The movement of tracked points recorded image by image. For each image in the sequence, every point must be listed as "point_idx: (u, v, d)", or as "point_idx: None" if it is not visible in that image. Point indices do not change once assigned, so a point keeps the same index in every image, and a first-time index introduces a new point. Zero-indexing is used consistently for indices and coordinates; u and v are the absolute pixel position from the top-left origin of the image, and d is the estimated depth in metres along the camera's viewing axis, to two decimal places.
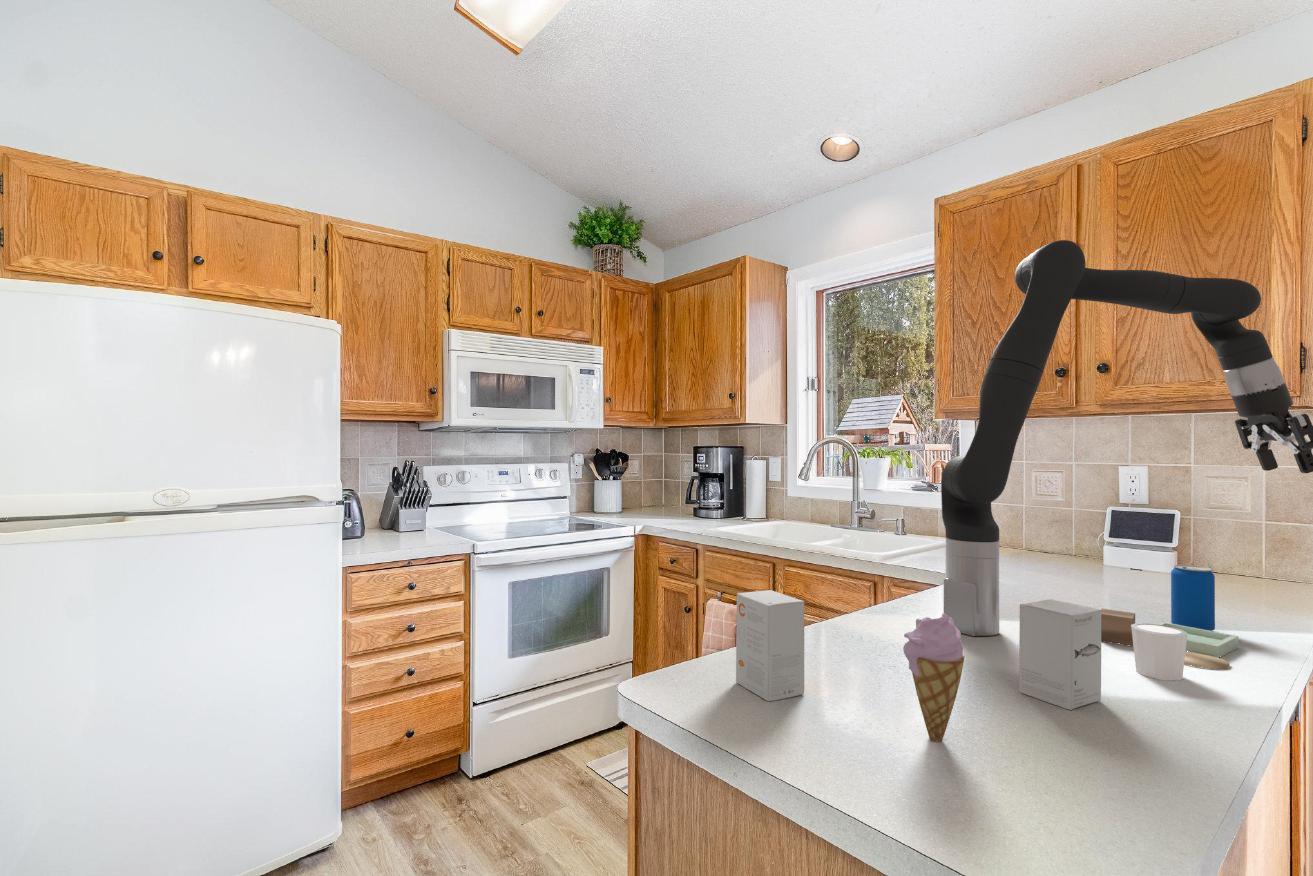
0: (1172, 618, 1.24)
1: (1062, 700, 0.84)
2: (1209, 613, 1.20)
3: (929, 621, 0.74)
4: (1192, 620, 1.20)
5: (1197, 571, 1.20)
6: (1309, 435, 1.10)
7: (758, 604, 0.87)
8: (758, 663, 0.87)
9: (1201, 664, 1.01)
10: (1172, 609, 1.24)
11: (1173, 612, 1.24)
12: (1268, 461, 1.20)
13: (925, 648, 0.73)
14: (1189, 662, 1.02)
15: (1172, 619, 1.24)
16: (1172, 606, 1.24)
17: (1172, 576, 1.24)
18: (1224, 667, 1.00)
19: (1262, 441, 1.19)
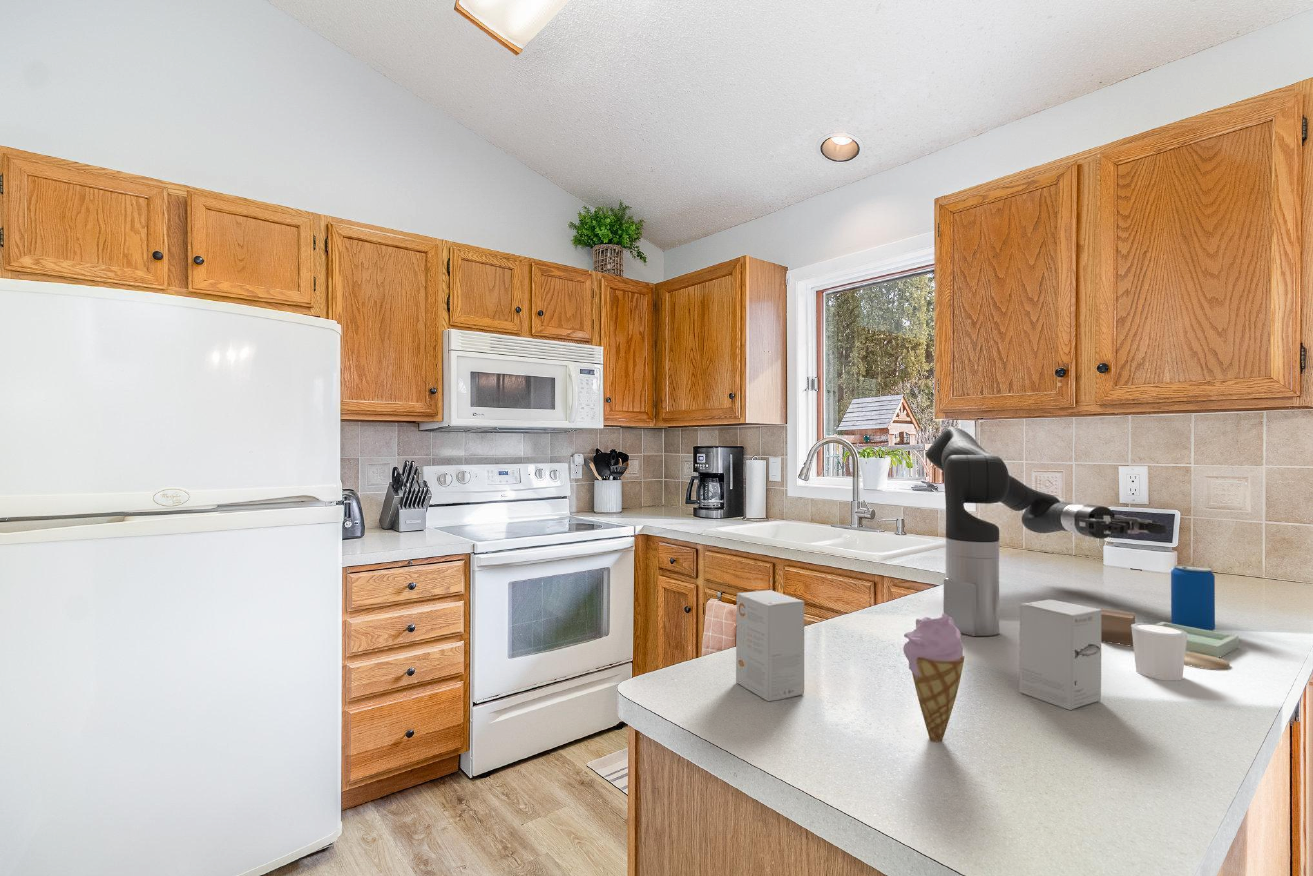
0: (1172, 618, 1.24)
1: (1062, 700, 0.84)
2: (1209, 613, 1.20)
3: (929, 621, 0.74)
4: (1192, 620, 1.20)
5: (1197, 571, 1.20)
6: None
7: (758, 604, 0.87)
8: (758, 663, 0.87)
9: (1201, 664, 1.01)
10: (1172, 609, 1.24)
11: (1173, 612, 1.24)
12: (1155, 529, 1.36)
13: (924, 648, 0.73)
14: (1189, 662, 1.02)
15: (1172, 619, 1.24)
16: (1172, 606, 1.24)
17: (1172, 576, 1.24)
18: (1224, 667, 1.00)
19: (1135, 528, 1.40)
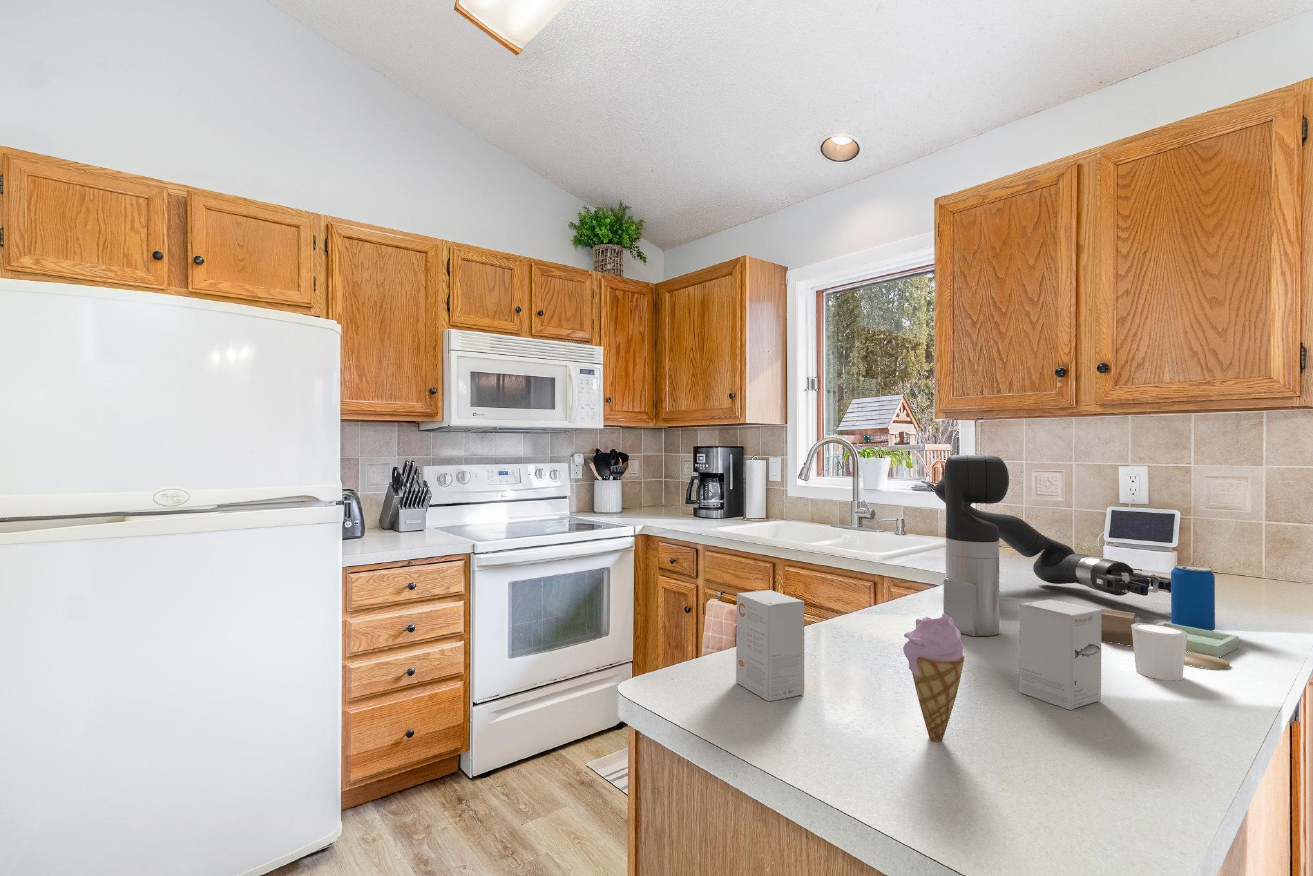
0: (1172, 618, 1.24)
1: (1062, 700, 0.84)
2: (1209, 613, 1.20)
3: (929, 621, 0.74)
4: (1192, 620, 1.20)
5: (1197, 571, 1.20)
6: None
7: (758, 604, 0.87)
8: (758, 663, 0.87)
9: (1201, 664, 1.01)
10: (1172, 609, 1.24)
11: (1173, 612, 1.24)
12: None
13: (924, 648, 0.73)
14: (1189, 662, 1.02)
15: (1172, 619, 1.24)
16: (1172, 606, 1.24)
17: (1172, 576, 1.24)
18: (1224, 667, 1.00)
19: (1155, 587, 1.35)
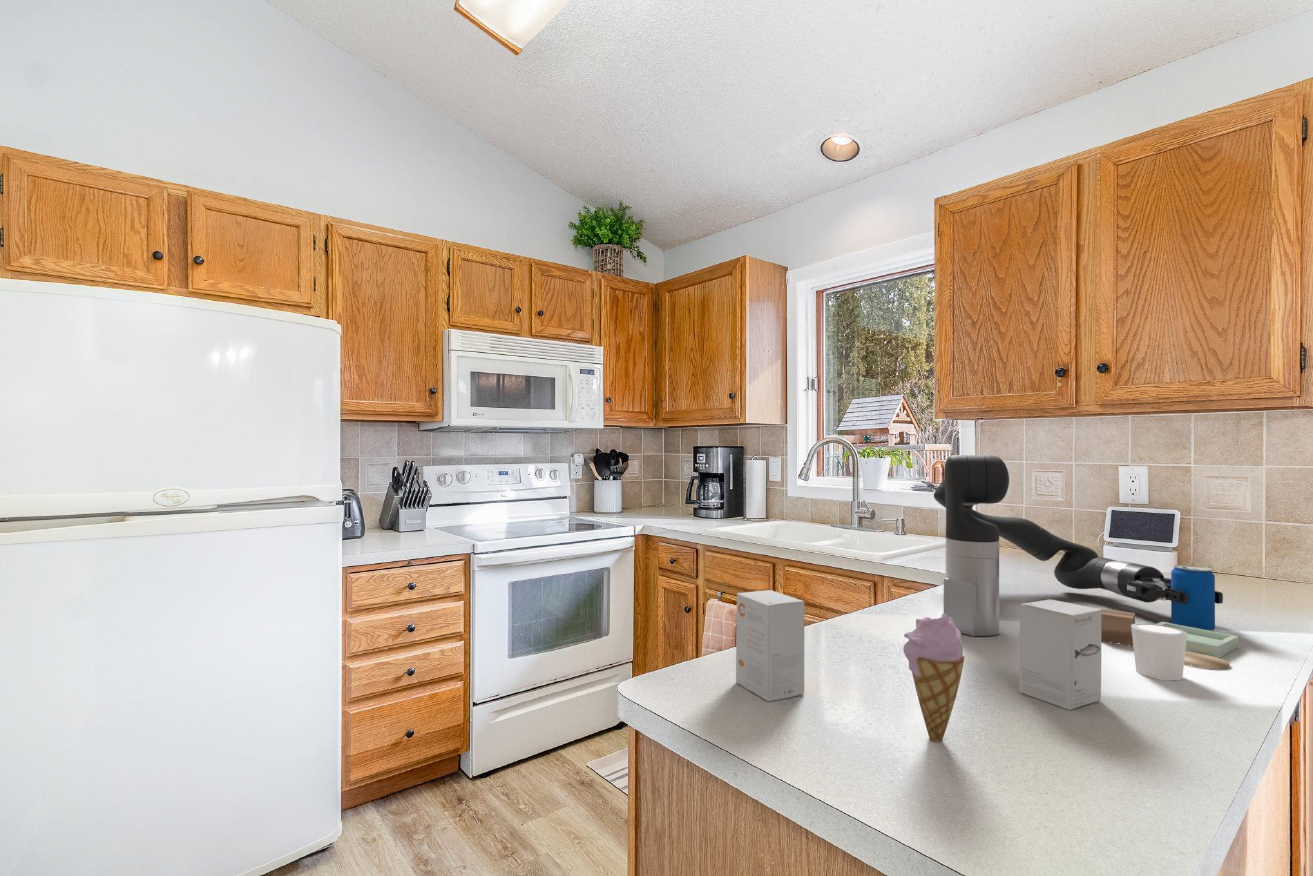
0: (1172, 618, 1.24)
1: (1062, 700, 0.84)
2: (1209, 613, 1.20)
3: (929, 621, 0.74)
4: (1193, 620, 1.20)
5: (1197, 571, 1.20)
6: None
7: (758, 604, 0.87)
8: (758, 663, 0.87)
9: (1201, 664, 1.01)
10: (1172, 609, 1.24)
11: (1173, 612, 1.24)
12: None
13: (925, 648, 0.73)
14: (1189, 662, 1.02)
15: (1172, 619, 1.24)
16: (1172, 606, 1.24)
17: (1172, 576, 1.24)
18: (1224, 667, 1.00)
19: None
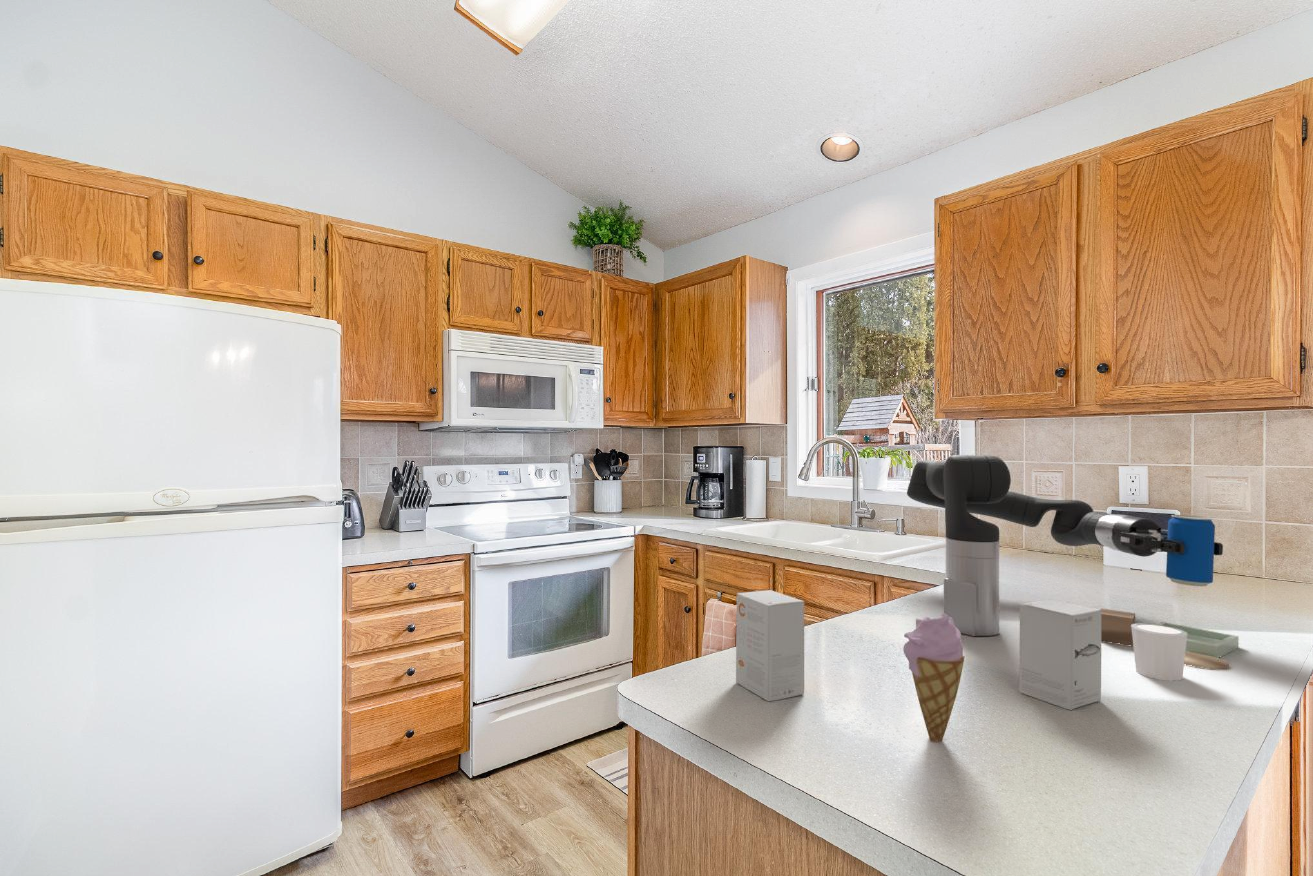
0: (1167, 571, 1.16)
1: (1062, 700, 0.84)
2: (1207, 565, 1.11)
3: (929, 621, 0.74)
4: (1188, 572, 1.12)
5: (1196, 520, 1.12)
6: None
7: (758, 604, 0.87)
8: (758, 663, 0.87)
9: (1201, 664, 1.01)
10: (1167, 561, 1.16)
11: (1168, 564, 1.16)
12: None
13: (925, 648, 0.73)
14: (1189, 662, 1.02)
15: (1167, 572, 1.16)
16: (1168, 558, 1.16)
17: (1169, 526, 1.16)
18: (1224, 667, 1.00)
19: None
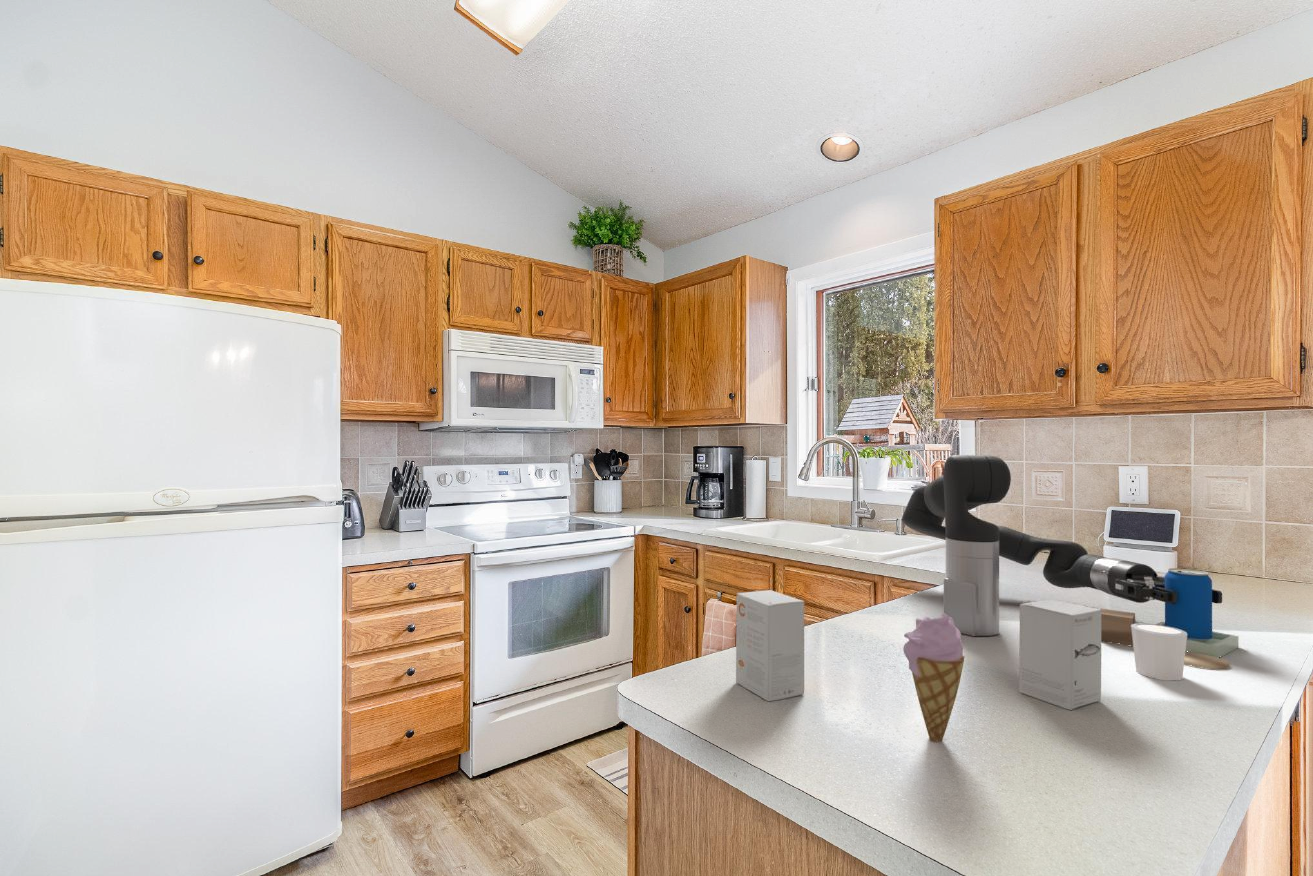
0: None
1: (1062, 700, 0.84)
2: (1206, 621, 1.10)
3: (929, 621, 0.74)
4: (1188, 628, 1.11)
5: (1193, 575, 1.11)
6: None
7: (758, 604, 0.87)
8: (758, 663, 0.87)
9: (1201, 664, 1.01)
10: (1166, 616, 1.14)
11: (1167, 619, 1.14)
12: None
13: (925, 648, 0.73)
14: (1189, 662, 1.02)
15: None
16: (1166, 613, 1.14)
17: (1166, 580, 1.14)
18: (1224, 667, 1.00)
19: None
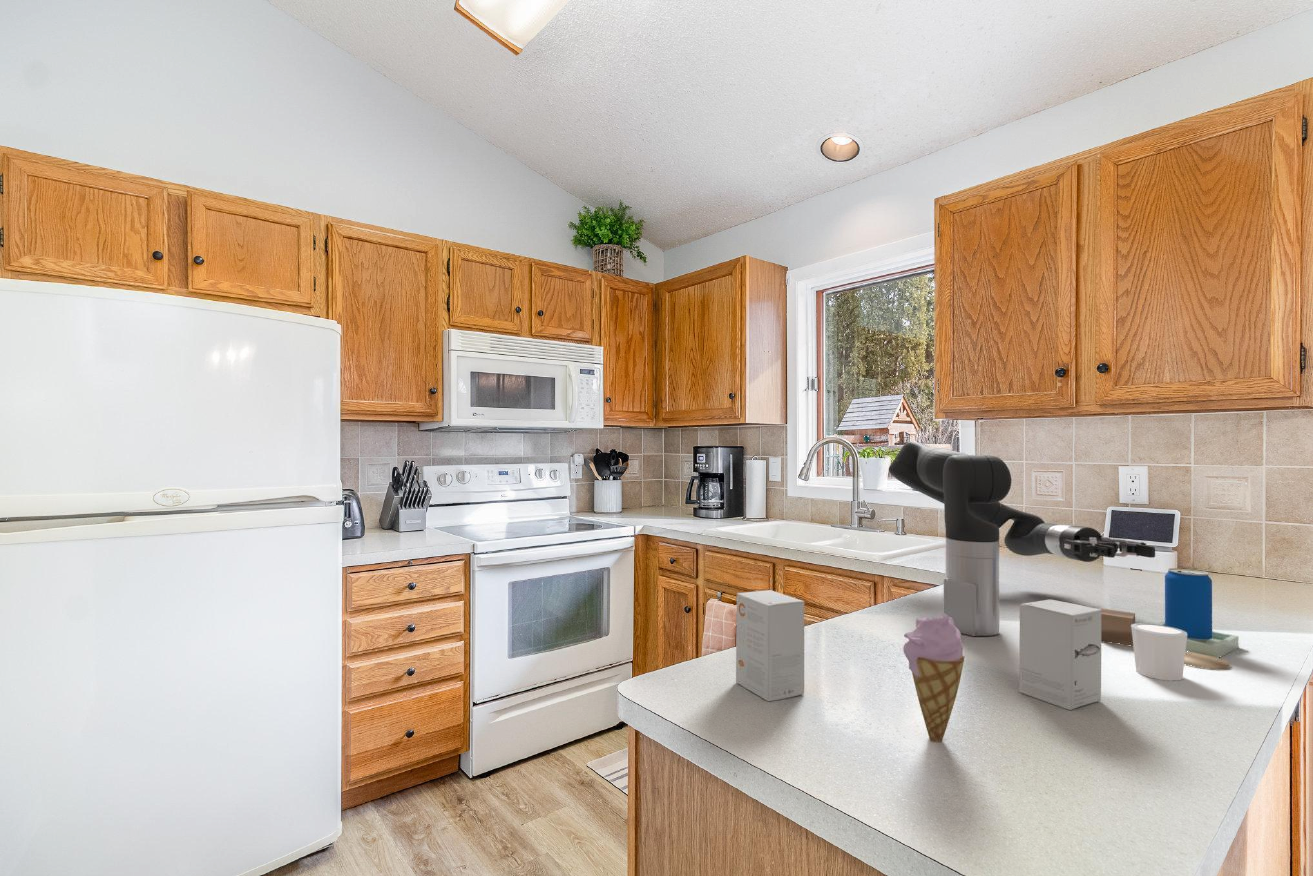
0: None
1: (1062, 700, 0.84)
2: (1206, 621, 1.10)
3: (929, 621, 0.74)
4: (1188, 628, 1.11)
5: (1193, 575, 1.11)
6: None
7: (758, 604, 0.87)
8: (758, 663, 0.87)
9: (1201, 664, 1.01)
10: (1166, 616, 1.14)
11: (1167, 619, 1.14)
12: (1144, 551, 1.28)
13: (925, 648, 0.73)
14: (1189, 662, 1.02)
15: None
16: (1166, 613, 1.14)
17: (1166, 580, 1.14)
18: (1224, 667, 1.00)
19: (1123, 550, 1.32)
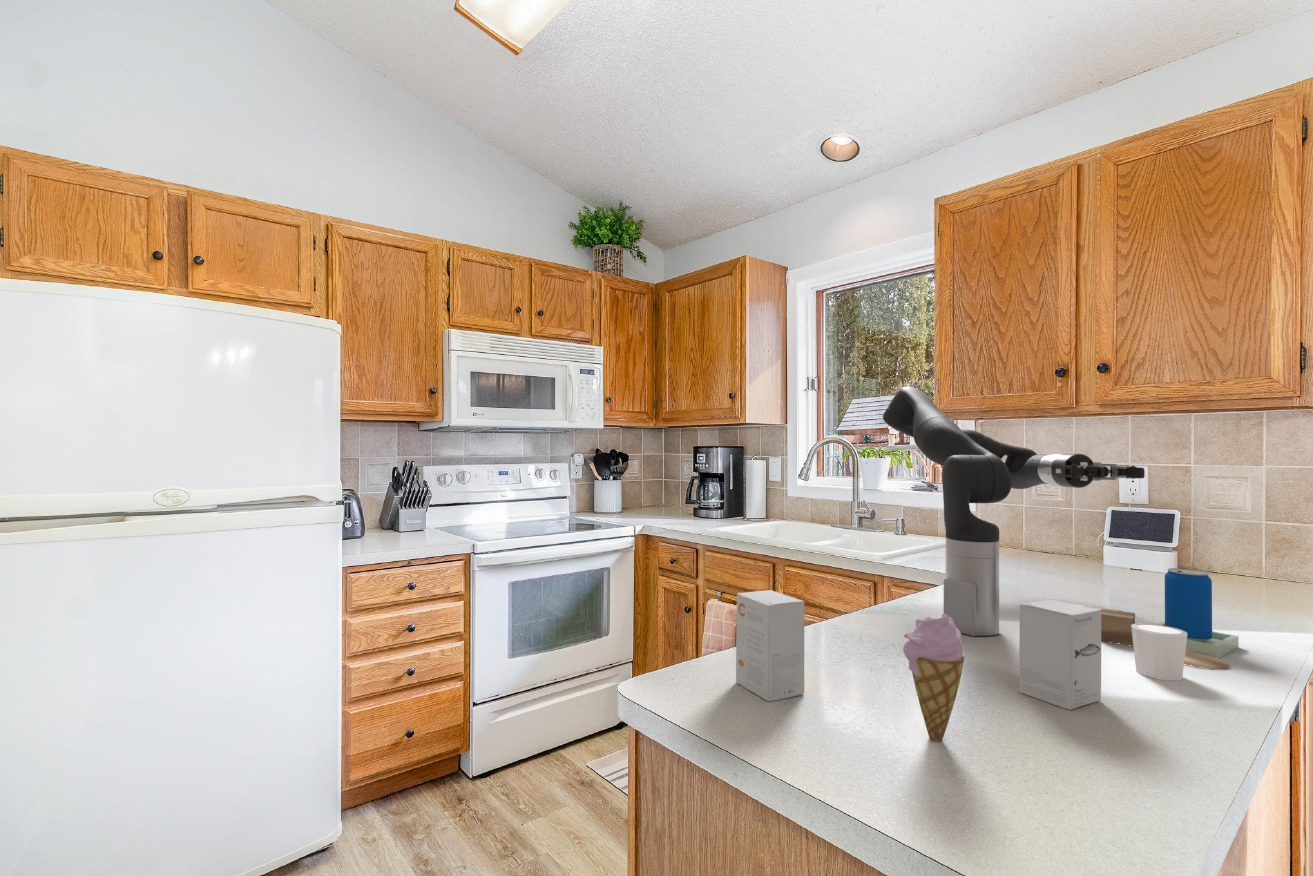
0: None
1: (1062, 700, 0.84)
2: (1206, 621, 1.10)
3: (929, 621, 0.74)
4: (1188, 628, 1.11)
5: (1193, 575, 1.11)
6: (1070, 467, 1.34)
7: (758, 604, 0.87)
8: (758, 663, 0.87)
9: (1201, 664, 1.01)
10: (1166, 616, 1.14)
11: (1167, 619, 1.14)
12: (1134, 473, 1.30)
13: (925, 648, 0.73)
14: (1189, 662, 1.02)
15: None
16: (1166, 613, 1.14)
17: (1166, 580, 1.14)
18: (1224, 667, 1.00)
19: (1113, 474, 1.34)
